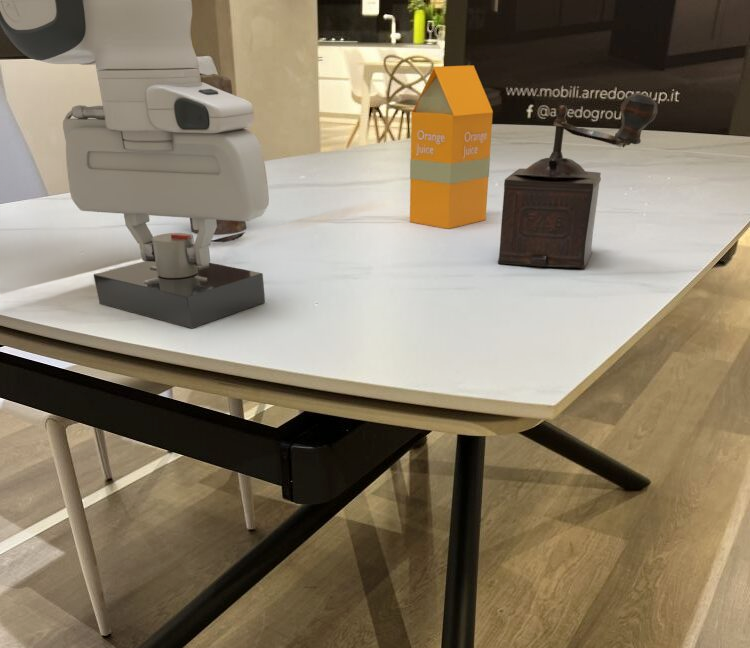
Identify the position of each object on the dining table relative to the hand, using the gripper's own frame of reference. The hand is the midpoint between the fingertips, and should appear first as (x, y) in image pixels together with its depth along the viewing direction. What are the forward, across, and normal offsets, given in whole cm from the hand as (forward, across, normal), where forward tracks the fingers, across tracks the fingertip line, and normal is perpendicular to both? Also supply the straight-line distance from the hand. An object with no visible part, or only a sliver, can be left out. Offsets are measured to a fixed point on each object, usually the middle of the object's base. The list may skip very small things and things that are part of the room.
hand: (176, 262), depth 74 cm
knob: (+1, 0, 0) cm, 1 cm away
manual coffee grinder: (+4, +35, +30) cm, 46 cm away
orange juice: (+4, +15, +49) cm, 51 cm away
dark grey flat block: (+4, 0, 0) cm, 4 cm away
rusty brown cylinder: (+4, -11, +27) cm, 29 cm away
